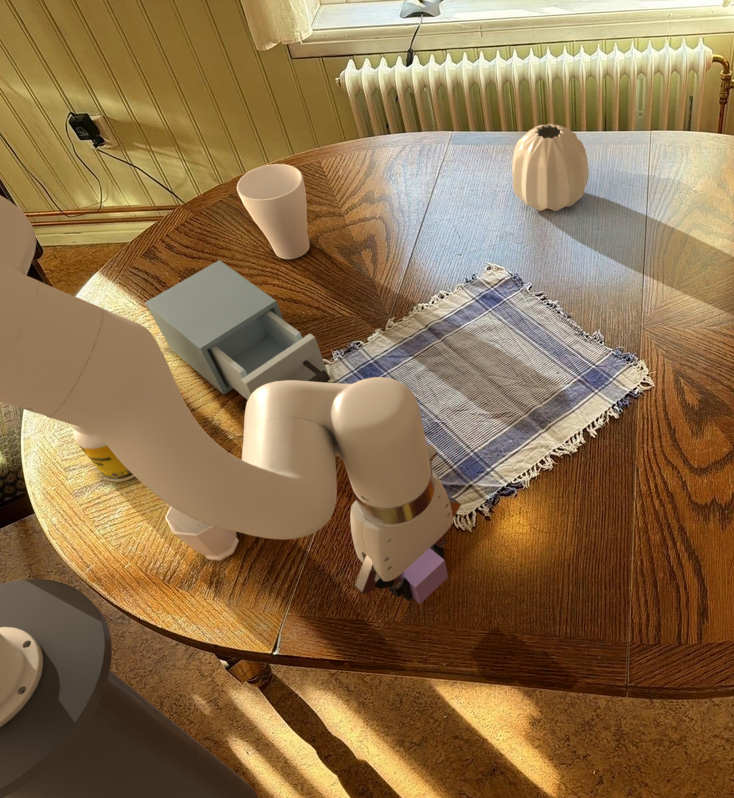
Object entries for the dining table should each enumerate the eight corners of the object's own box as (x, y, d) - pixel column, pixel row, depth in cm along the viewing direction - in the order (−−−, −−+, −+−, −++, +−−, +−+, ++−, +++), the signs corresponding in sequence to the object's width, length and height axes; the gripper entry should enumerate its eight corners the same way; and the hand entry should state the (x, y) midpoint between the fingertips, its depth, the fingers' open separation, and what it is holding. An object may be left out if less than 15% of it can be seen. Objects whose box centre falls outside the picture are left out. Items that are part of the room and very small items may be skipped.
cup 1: (220, 580, 89) (195, 546, 83) (162, 544, 92) (134, 509, 86) (261, 535, 93) (240, 500, 87) (204, 502, 96) (180, 466, 90)
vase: (592, 181, 142) (595, 114, 131) (578, 224, 133) (580, 156, 123) (522, 173, 144) (519, 107, 134) (504, 215, 135) (499, 148, 125)
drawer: (350, 391, 107) (338, 353, 101) (285, 439, 102) (268, 402, 96) (273, 333, 115) (258, 295, 109) (210, 375, 110) (190, 337, 104)
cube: (420, 604, 83) (415, 587, 80) (389, 576, 85) (383, 559, 82) (448, 577, 85) (444, 560, 82) (417, 550, 88) (412, 533, 85)
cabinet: (294, 347, 114) (276, 300, 107) (224, 395, 108) (199, 348, 101) (240, 306, 121) (219, 259, 114) (170, 349, 115) (144, 302, 108)
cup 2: (294, 275, 126) (271, 207, 116) (249, 256, 129) (222, 189, 119) (335, 241, 132) (315, 173, 121) (290, 224, 135) (268, 157, 125)
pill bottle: (92, 474, 100) (50, 422, 91) (127, 440, 103) (89, 387, 95) (127, 490, 98) (86, 438, 90) (161, 455, 101) (125, 402, 93)
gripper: (431, 414, 77) (448, 510, 91) (298, 520, 69) (339, 608, 83) (483, 452, 74) (493, 546, 88) (350, 568, 66) (384, 651, 79)
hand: (418, 575), depth 85 cm, fingers closed on cube, 4 cm apart
